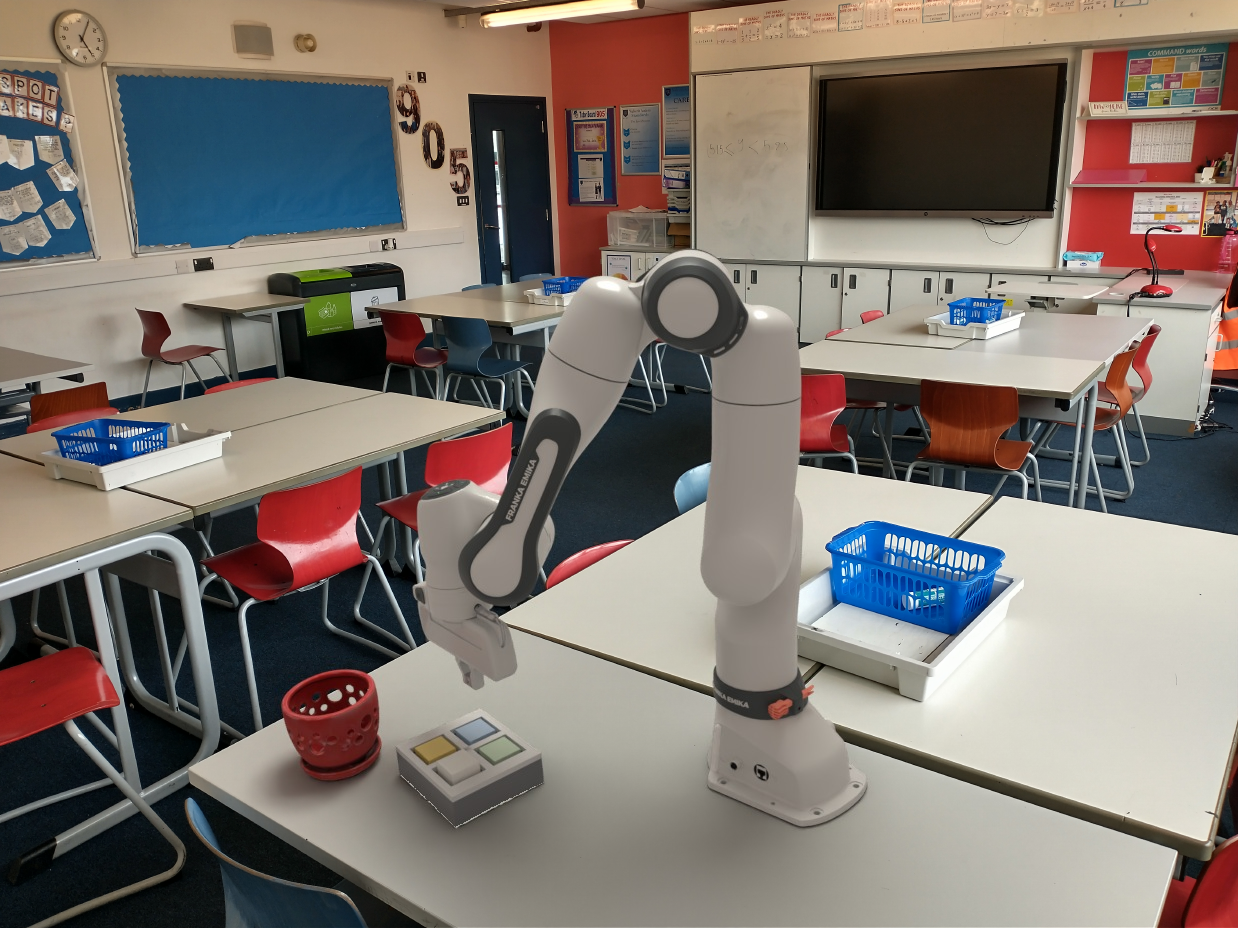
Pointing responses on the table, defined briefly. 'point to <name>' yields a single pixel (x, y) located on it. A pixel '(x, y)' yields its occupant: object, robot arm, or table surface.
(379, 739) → the plant pot
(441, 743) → the key mustard
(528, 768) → the keypad
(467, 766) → the key grey
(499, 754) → the key sage
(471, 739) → the key blue
